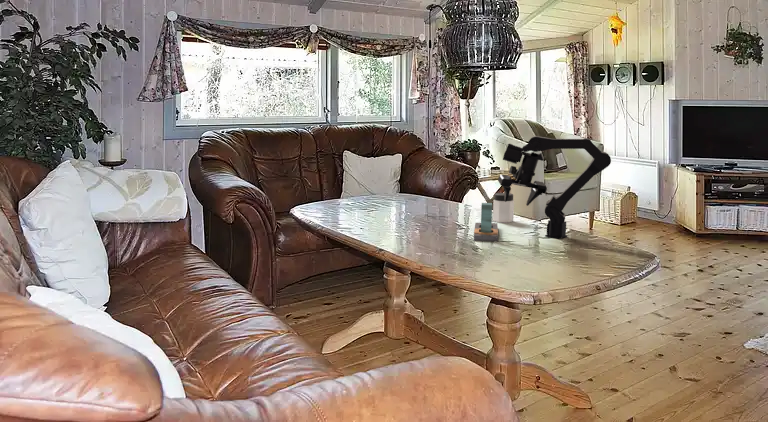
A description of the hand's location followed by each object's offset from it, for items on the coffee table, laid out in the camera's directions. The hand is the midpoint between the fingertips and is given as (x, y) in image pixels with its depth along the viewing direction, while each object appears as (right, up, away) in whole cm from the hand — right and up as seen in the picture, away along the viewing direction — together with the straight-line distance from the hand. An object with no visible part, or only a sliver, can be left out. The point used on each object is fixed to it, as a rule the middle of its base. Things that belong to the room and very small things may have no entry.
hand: (516, 203), depth 256 cm
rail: (-12, -12, 0) cm, 17 cm away
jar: (0, -8, +27) cm, 28 cm away
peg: (-13, -13, -5) cm, 19 cm away
